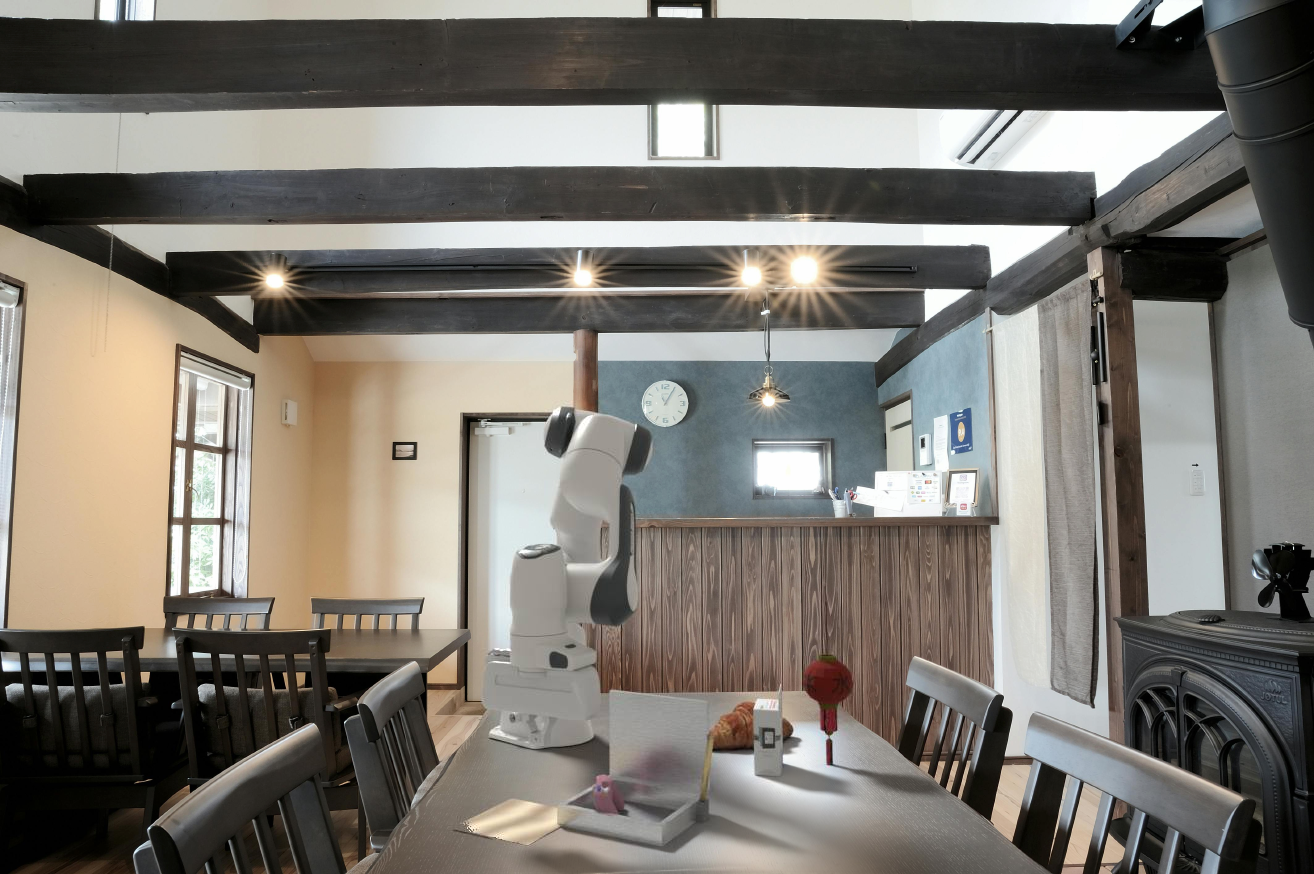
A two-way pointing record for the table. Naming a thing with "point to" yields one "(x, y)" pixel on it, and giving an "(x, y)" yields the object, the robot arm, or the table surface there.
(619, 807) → the pink rounded figure
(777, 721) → the ink box
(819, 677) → the lantern
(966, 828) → the table surface
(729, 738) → the pastry
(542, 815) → the pad
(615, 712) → the case
